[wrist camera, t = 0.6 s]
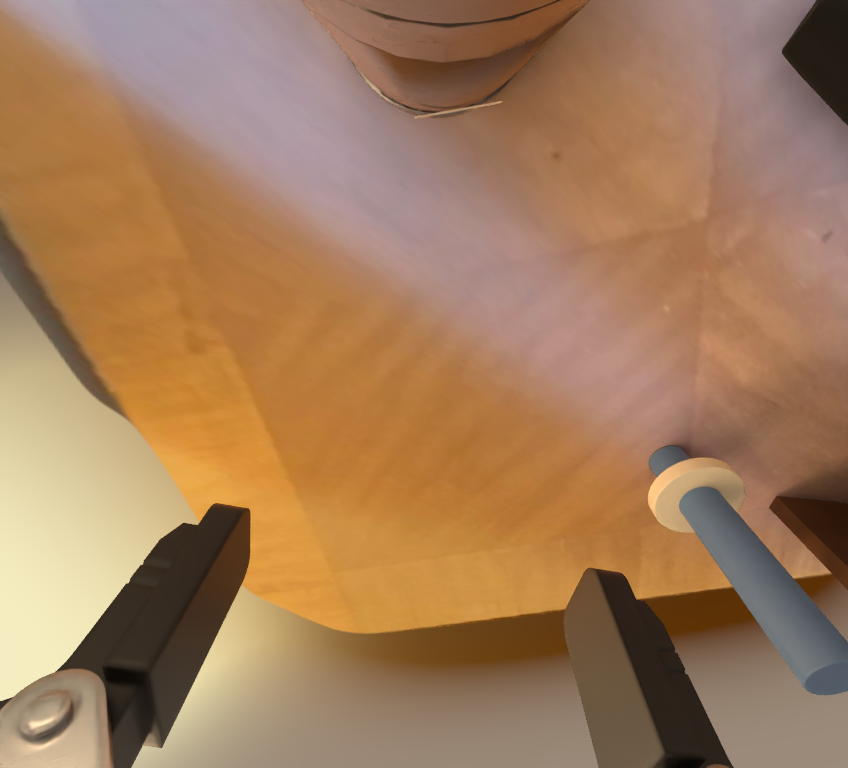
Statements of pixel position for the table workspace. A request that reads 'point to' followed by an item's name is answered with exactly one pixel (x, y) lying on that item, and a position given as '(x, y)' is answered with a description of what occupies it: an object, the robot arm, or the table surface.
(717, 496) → the peg
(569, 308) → the table surface
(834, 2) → the electric trimmer
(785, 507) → the peg stand
